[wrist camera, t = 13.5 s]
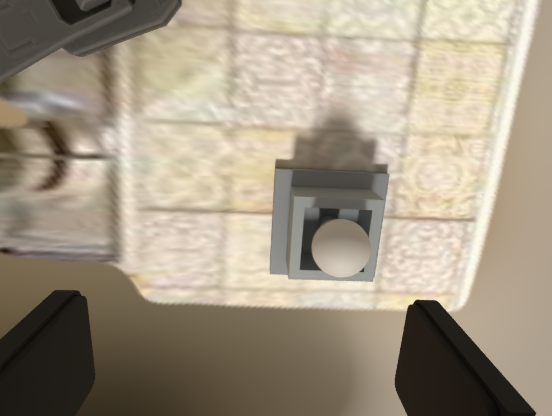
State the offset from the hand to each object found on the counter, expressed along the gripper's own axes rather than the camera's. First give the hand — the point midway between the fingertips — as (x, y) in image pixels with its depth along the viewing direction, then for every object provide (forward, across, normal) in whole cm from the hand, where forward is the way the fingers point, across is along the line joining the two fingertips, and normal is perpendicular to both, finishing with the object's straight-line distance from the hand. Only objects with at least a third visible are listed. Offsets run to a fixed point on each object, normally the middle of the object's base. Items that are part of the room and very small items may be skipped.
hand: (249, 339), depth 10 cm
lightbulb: (+34, -9, +8) cm, 36 cm away
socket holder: (+34, -9, +8) cm, 36 cm away
